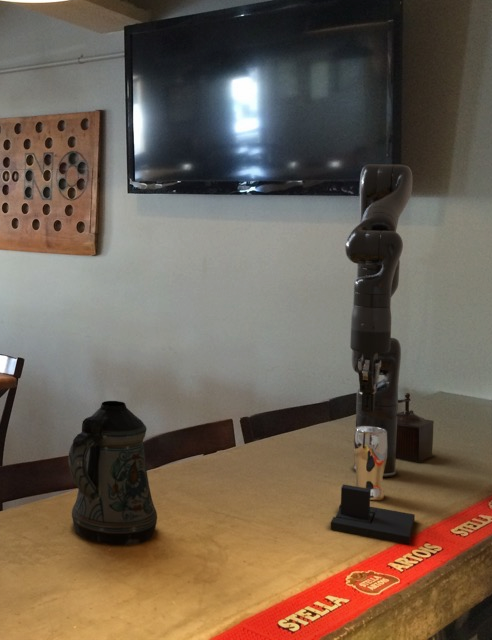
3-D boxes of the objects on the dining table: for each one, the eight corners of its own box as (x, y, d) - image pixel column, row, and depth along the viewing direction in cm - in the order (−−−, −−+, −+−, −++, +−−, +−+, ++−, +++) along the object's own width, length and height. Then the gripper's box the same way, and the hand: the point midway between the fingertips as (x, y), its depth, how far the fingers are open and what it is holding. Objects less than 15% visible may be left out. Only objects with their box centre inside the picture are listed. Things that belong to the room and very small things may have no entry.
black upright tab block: (340, 514, 168) (341, 481, 168) (373, 520, 165) (374, 486, 165) (335, 523, 163) (336, 489, 163) (369, 530, 160) (371, 495, 160)
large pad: (341, 508, 172) (341, 501, 172) (414, 521, 165) (414, 514, 165) (330, 529, 160) (330, 521, 160) (408, 544, 153) (409, 536, 153)
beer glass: (389, 502, 176) (391, 434, 176) (355, 499, 178) (357, 432, 177) (381, 492, 183) (383, 426, 183) (349, 489, 185) (351, 424, 184)
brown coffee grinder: (435, 455, 214) (437, 387, 213) (418, 463, 206) (421, 393, 206) (375, 443, 225) (378, 378, 224) (358, 450, 218) (360, 383, 217)
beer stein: (162, 520, 163) (165, 397, 162) (145, 558, 144) (149, 419, 143) (83, 510, 168) (85, 390, 167) (57, 544, 150) (59, 411, 149)
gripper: (387, 333, 158) (383, 421, 159) (394, 325, 169) (391, 407, 170) (346, 330, 161) (343, 415, 162) (355, 322, 173) (353, 402, 174)
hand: (367, 411), depth 166 cm, fingers closed
